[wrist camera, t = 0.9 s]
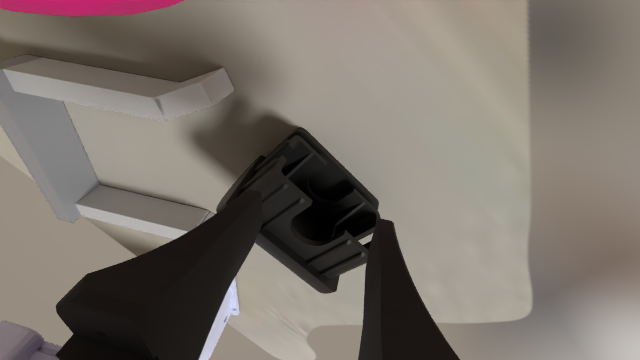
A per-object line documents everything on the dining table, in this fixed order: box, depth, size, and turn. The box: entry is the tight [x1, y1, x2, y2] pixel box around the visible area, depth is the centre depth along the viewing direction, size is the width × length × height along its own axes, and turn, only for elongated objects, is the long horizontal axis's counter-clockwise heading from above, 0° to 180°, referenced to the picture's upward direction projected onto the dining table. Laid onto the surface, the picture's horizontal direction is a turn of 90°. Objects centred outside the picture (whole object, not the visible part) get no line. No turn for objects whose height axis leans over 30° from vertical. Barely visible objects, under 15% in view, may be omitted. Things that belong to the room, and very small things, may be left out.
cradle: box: [0, 54, 235, 239], centre depth 25 cm, size 18×17×4 cm
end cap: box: [216, 128, 380, 294], centre depth 22 cm, size 10×7×7 cm
